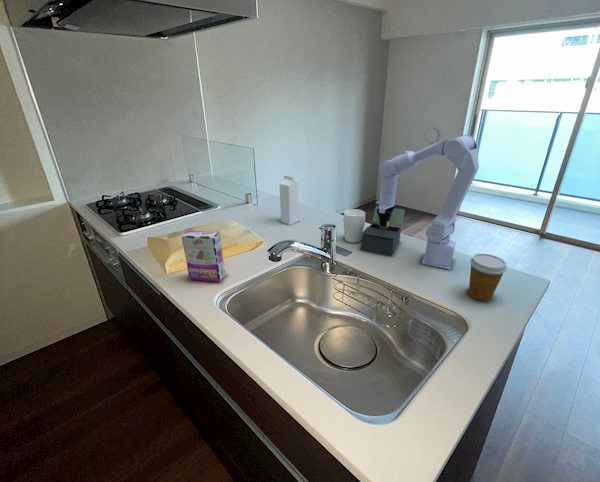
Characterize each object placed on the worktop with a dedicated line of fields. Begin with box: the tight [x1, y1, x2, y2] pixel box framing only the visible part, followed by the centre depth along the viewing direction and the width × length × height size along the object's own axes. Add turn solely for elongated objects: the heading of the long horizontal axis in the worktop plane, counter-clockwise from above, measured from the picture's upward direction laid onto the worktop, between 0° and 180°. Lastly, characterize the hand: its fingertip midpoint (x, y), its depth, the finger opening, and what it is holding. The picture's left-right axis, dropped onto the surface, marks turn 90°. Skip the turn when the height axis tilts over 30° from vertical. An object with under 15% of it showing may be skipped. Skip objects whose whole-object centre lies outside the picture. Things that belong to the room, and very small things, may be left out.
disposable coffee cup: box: [468, 253, 508, 302], centre depth 96 cm, size 10×10×12 cm
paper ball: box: [378, 221, 390, 229], centre depth 128 cm, size 4×4×4 cm
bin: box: [360, 222, 402, 257], centre depth 128 cm, size 14×12×7 cm
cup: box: [342, 208, 367, 244], centre depth 133 cm, size 9×9×12 cm
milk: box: [279, 175, 299, 226], centre depth 150 cm, size 6×6×22 cm
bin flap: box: [372, 205, 406, 227], centre depth 133 cm, size 7×12×1 cm
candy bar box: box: [181, 229, 226, 283], centre depth 106 cm, size 11×5×16 cm, turn 80°
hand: (384, 224), depth 129 cm, fingers closed on paper ball, 4 cm apart
